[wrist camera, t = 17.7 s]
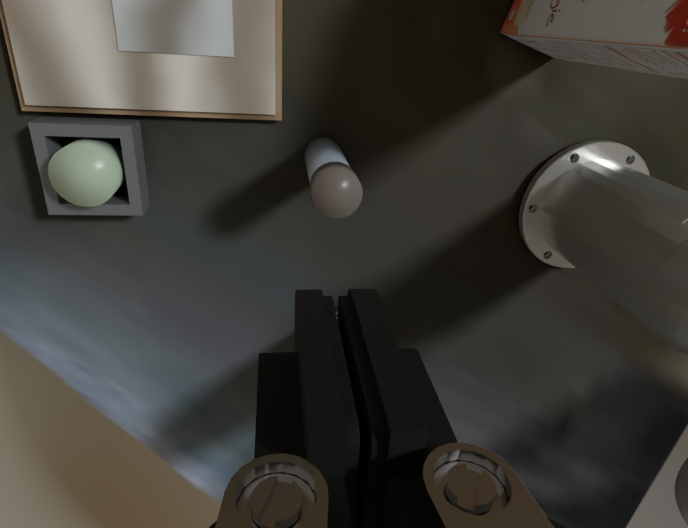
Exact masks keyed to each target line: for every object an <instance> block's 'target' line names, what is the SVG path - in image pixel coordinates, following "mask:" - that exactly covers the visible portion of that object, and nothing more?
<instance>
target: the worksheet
mask: <svg viewBox="0 0 688 528" xmlns="http://www.w3.org/2000/svg"><path fill="white" fill-rule="evenodd" d="M0 18H1V23H2V27H3V31H4V36H5V40H6V44H7V49H8V53H9V57H10V62H11V66H12V70H13V75H14V79H15V83H16V88H17V92H18V96H19V101H20V105H21V109H22V111H39V112H66V113H93V114H119V115H146V116H173V117H200V118H226V119H253V120H280V121H282V0H0Z"/></svg>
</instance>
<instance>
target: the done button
mask: <svg viewBox="0 0 688 528" xmlns="http://www.w3.org/2000/svg"><path fill="white" fill-rule="evenodd" d="M48 176H49V180H50V182H51V185H52V186H53V188H54V189H55V191H56V192H57V193H58V194H59V195H60V196H61V197H62V198H64V199H65V200H67V201H68V202H70V203H73V204H75V205H78V206H83V207H93V206H98V205H101V204H103V203H105V202H106V201H108V200H109V199H110V198H111V197H112V195H113V194H114V193H115V192H116V191H117V190H118V189H119V188H120V186H121V185H122V184H123V183H124V182H125V180H126V175H125V168H124V161H123V154H122V150H121V149H120V148H119V147H118V146H117V145H116V144H115V143H114V142H112V141H111V140H109V139H107V138H97V137H80V138H78V139H76V140H74V141H73V142H71V143H70V144H68V145H66V146H65V147H63V148H62V149H60V150H59V151H57V152H56V153H55V154H54V155H53V156H52V158H51V159H50V162H49V165H48Z"/></svg>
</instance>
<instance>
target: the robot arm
mask: <svg viewBox="0 0 688 528" xmlns="http://www.w3.org/2000/svg"><path fill="white" fill-rule="evenodd" d="M529 206H530V207H529ZM519 228H520V233H521V236H522V239H523V241H524V243H525V244H526V246H527V248H528V249H529V250H530V251H531V252H532V253H533V254H534V255H535V256H536V257H537V258H539V259H540V260H541V261H543V262H544V263H547V264H549V265H551V266H555V267H560V268H577V269H578V270H579V271H580V272H582V273H583V274H584V275H585V276H586V277H588V278H589V279H590V280H591V281H593V282H594V283H595V284H596V285H597V286H599V287H600V288H601V289H602V290H604V291H605V292H606V293H607V294H608V295H610V296H611V297H612V298H613V299H614V300H616V301H617V302H618V303H619V304H621V305H622V306H623V307H624V308H625V309H627V310H628V311H629V312H630V313H632V314H633V315H634V316H635V317H636V318H638V319H639V320H640V321H641V322H642V323H644V324H645V325H646V326H647V327H649V328H650V329H651V330H652V331H654V332H655V333H656V334H657V335H659V336H660V337H661V338H662V339H664V340H665V341H666V342H667V343H669V344H670V345H671V346H673V347H674V348H676V349H677V350H679V351H681V352H683V353H685V354H687V355H688V192H687V191H684V190H682V189H679V188H677V187H675V186H672V185H670V184H667V183H665V182H663V181H660V180H658V179H655V178H653V177H651V176H650V174H649V171H648V168H647V166H646V164H645V162H644V161H643V159H642V158H641V157H640V155H639V154H638V153H636V152H635V151H634V150H632V149H631V148H630V147H627V146H625V145H623V144H620V143H617V142H613V141H610V140H590V141H584V142H581V143H578V144H575V145H573V146H570V147H568V148H566V149H565V150H563V151H561V152H559V153H558V154H556V155H555V156H554V157H552V158H551V159H550V160H549V161H547V162H546V163H545V164H544V165H543V166H542V168H541V169H540V170H539V171H538V172H537V173H536V174H535V176H534V177H533V179H532V180H531V182H530V183H529V185H528V187H527V189H526V191H525V193H524V195H523V199H522V202H521V206H520V211H519ZM675 497H676V502H677V505H678V508H679V511H680V513H681V515H682V517H683V518H684V520H685V522H686V523H687V525H688V458H687V459H686V461H685V462H684V464H683V465H682V467H681V469H680V471H679V473H678V475H677V478H676V482H675ZM209 528H565V527H563V526H562V525H560V524H558V523H557V522H555V521H553V520H551V519H550V518H548V517H547V516H546V515H545V514H544V512H543V511H542V509H541V508H540V507H539V505H538V504H537V502H536V501H535V500H534V498H533V497H532V495H531V494H530V493H529V491H528V490H527V488H526V487H525V486H524V484H523V483H522V481H521V480H520V478H519V477H518V476H517V474H516V473H515V471H514V470H513V469H512V468H511V467H510V466H509V465H508V464H507V463H506V462H505V460H504V459H502V458H501V457H499V456H498V455H496V454H495V453H493V452H492V451H490V450H488V449H485V448H483V447H481V446H478V445H475V444H469V443H464V442H459V443H458V442H457V440H456V437H455V435H454V433H453V430H452V428H451V426H450V424H449V421H448V419H447V417H446V414H445V412H444V410H443V408H442V405H441V403H440V401H439V398H438V396H437V394H436V391H435V389H434V387H433V385H432V382H431V380H430V378H429V375H428V373H427V371H426V369H425V366H424V364H423V362H422V359H421V357H420V355H419V353H418V351H417V350H416V349H414V348H407V349H398V347H397V344H396V342H395V339H394V336H393V334H392V331H391V328H390V326H389V323H388V321H387V318H386V315H385V313H384V310H383V307H382V305H381V302H380V300H379V297H378V294H377V292H376V290H375V289H349V291H348V296H339V300H338V314H337V317H336V312H335V308H334V303H333V298H332V296H323V293H322V290H296V292H295V345H294V352H284V353H259V365H258V388H257V412H256V436H255V459H253V460H252V461H250V462H249V463H247V464H245V465H244V466H242V467H241V468H240V469H239V470H238V471H237V472H236V473H235V475H234V476H233V477H232V478H231V479H230V482H229V484H228V486H227V488H226V490H225V493H224V496H223V500H222V504H221V507H220V511H219V515H218V518H217V521H216V522H215V523H214V524H213V525H211V527H209Z"/></svg>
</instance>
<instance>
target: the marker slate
mask: <svg viewBox="0 0 688 528" xmlns="http://www.w3.org/2000/svg"><path fill="white" fill-rule="evenodd" d="M304 160H305V164H306V168H307V173H308V177H309V181H310V192H311V196H312V201H313V204H314V206H315V207H316V209H317V210H318V211H319V212H320V213H321V214H322V215H324V216H326V217H329V218H335V219H338V218H344V217H346V216H349V215H350V214H352V213H353V212H354V211H355V210H356V209H357V208H358V207H359V205H360V203H361V200H362V195H363V191H362V186H361V184H360V181H359V180H358V178H357V176H356V174H355V172H354V171H353V170H352V169H351V168H350V166H349V164H348V162H347V160H346V158H345V156H344V155H343V153H342V151H341V149H340V147H339V145H338V144H337V143H336V142H335V141H333V140H332V139H329V138H317V139H315V140H313V141H312V142H310V143H309V145H308V146H307V148H306V150H305V153H304Z"/></svg>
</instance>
